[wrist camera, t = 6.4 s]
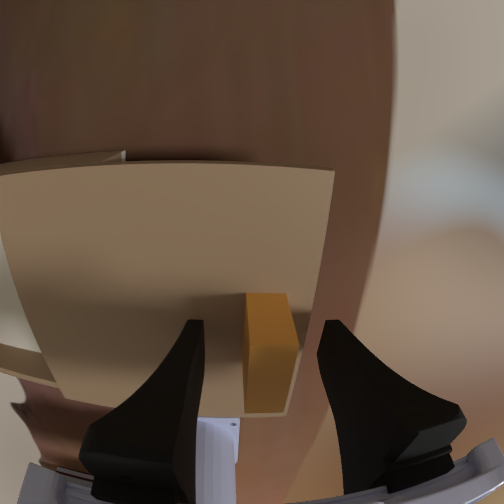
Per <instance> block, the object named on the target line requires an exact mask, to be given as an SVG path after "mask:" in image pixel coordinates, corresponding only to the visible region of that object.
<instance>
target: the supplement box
mask: <svg viewBox="0 0 504 504" xmlns="http://www.w3.org/2000/svg"><path fill="white" fill-rule="evenodd" d="M56 472H57V473H59V474H60V475H62V476H63V477H64V478H65V480H66V481H69V482H72V483H75V484H79V485H82V486H86V487H90V488H92V484H93V479H94V476H93V475H89V474H84V473H80V472H76V471H72V470H69V469H65V468H62V467H57V469H56Z"/></svg>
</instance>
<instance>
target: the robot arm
mask: <svg viewBox="0 0 504 504" xmlns="http://www.w3.org/2000/svg"><path fill="white" fill-rule="evenodd" d="M317 358H318V364H319V370H320V374H321V378H322V381H323V384H324V387H325V390H326V393H327V397H328V400H329V403H330V406H331V409H332V412H333V415H334V420H335V424H336V429H337V435H338V441H339V447H340V455H341V463H342V473H343V488H344V495H342V496H337V497H332V498H326V499H319V500H313V501H305V502H296V503H287V504H474V503H476V502H478V501H479V500H481V499H483V498H484V497H485V496H487V495H489V494H490V493H491V492H493V491H494V490H496V489H497V488H499V487H500V486H501V485H502V484H504V456H503V454H502V452H501V450H500V448H499V446H498V444H497V442H496V440H495V438H491V439H489V440H488V441H485V442H484V443H481V444H479V445H478V446H476V447H475V448H473V449H472V450H471V451H470V452H469V453H468V454H467V456H465V457H463V458H460V459H458V460H456V461H453V460H452V458H451V456H450V454H449V453H451V452H452V447H451V445H450V443H451V442H452V441H453V440H454V439H455V438H456V437H457V436H458V435H459V434H460V433H461V432H462V430H463V429H464V428H465V426H466V423H467V420H466V418H465V416H464V414H463V412H462V410H461V409H460V407H459V405H458V404H455V403H452V402H450V401H447V400H444V399H442V398H439V397H437V396H435V395H432V394H431V393H428V392H426V391H425V390H422V389H421V388H419V387H417V386H415V385H414V384H412V383H410V382H409V381H407V380H405V379H404V378H403V377H401V376H400V375H398V374H397V373H396V372H394V371H393V370H392V369H390V368H389V367H387V366H386V365H385V364H384V363H383V362H382V361H381V360H379V359H378V358H377V357H375V355H374V354H373V353H371V352H370V351H369V350H368V349H367V348H366V347H365V346H364V345H363V344H362V343H361V342H360V341H359V340H358V339H357V338H356V337H355V336H354V335H353V334H352V333H351V332H350V331H349V330H348V328H347V327H346V326H345V325H344V324H343V323H342V322H341V321H340V320H326V321H325V325H324V329H323V332H322V336H321V340H320V344H319V347H318V351H317ZM204 371H205V340H204V320H196V319H189V320H187V321H186V323H185V326H184V328H183V330H182V331H181V333H180V335H179V337H178V338H177V340H176V342H175V343H174V345H173V346H172V348H171V350H170V351H169V353H168V354H167V356H166V357H165V358H164V360H163V361H162V362H161V364H160V365H159V366H158V368H157V369H156V370H155V371H154V372H153V374H152V375H151V376H150V377H149V378H148V379H147V380H146V381H145V382H144V383H143V384H142V385H141V386H140V387H139V388H138V389H137V390H136V391H135V392H134V393H133V394H132V395H131V396H130V397H129V398H128V399H126V400H125V401H124V402H123V403H121V404H120V405H119V406H118V407H116V408H115V409H114V410H112V411H111V412H110V413H108V414H107V415H105V416H103V417H102V418H100V419H99V420H97V421H95V422H94V423H92V424H90V426H89V428H88V430H87V432H86V434H85V437H84V439H83V442H82V446H81V449H80V453H79V460H80V461H81V463H82V464H83V465H84V467H85V468H86V469H87V470H88V471H89V472H90V473H91V474H92V475H93V476H94V479H93V484H92V488H90V487H86V486H82V485H79V484H75V483H72V482H69V481H66V480H65V478H64V477H63V476H62V475H60V474H59V473H57V472H55V471H53V470H50V469H47V468H44V467H42V466H39V465H36V464H34V463H29V465H28V468H27V471H26V474H25V478H24V481H23V484H22V487H21V491H20V494H19V498H18V502H17V504H236V485H235V463H237V458H238V442H239V426H240V417H202V416H198V412H199V406H200V400H201V393H202V387H203V380H204Z"/></svg>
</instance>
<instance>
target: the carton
mask: <svg viewBox="0 0 504 504" xmlns="http://www.w3.org/2000/svg"><path fill="white" fill-rule="evenodd" d="M124 161H126V150H118V151H102V152H89V153H78V154H68V155H58V156H50V157H42V158H34V159H27V160H20V161H14V162H8V163H2V164H0V173H5V172H12V171H19V170H27V169H35V168H44V167H54V166H64V165H76V164H89V163H105V162H124ZM0 372H2V373H5V374H8V375H12V376H15V377H18V378H22V379H25V380H29V381H32V382H36V383H40V384H44V385H48V386H52V387H56V388H59V386H58V384H57V382H56V380H55V379H54V377H53V375H52V373H51V371H50V369H49V367H48V365H47V363H46V361H45V359H44V357H43V355H42V352H41V350H40V348H39V346H38V344H37V342H36V339H35V337H34V335H33V332H32V330H31V328H30V325H29V323H28V320H27V318H26V315H25V313H24V310H23V307H22V305H21V302H20V299H19V296H18V293H17V290H16V288H15V285H14V281H13V278H12V275H11V272H10V269H9V265H8V262H7V258H6V255H5V251H4V247H3V243H2V239H1V235H0Z"/></svg>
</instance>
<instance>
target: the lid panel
mask: <svg viewBox="0 0 504 504" xmlns="http://www.w3.org/2000/svg"><path fill="white" fill-rule="evenodd" d="M334 175H335V171H334V170H332V169H331V168H327V167H317V166H306V165H293V164H279V163H263V162H242V161H208V160H158V161H124V162H105V163H89V164H76V165H64V166H54V167H44V168H35V169H27V170H19V171H12V172H5V173H0V235H1V239H2V243H3V247H4V251H5V255H6V258H7V262H8V265H9V269H10V272H11V275H12V278H13V281H14V285H15V288H16V290H17V293H18V296H19V299H20V302H21V305H22V307H23V310H24V313H25V315H26V318H27V320H28V323H29V325H30V328H31V330H32V332H33V335H34V337H35V339H36V342H37V344H38V346H39V348H40V350H41V352H42V355H43V357H44V359H45V361H46V363H47V365H48V367H49V369H50V371H51V373H52V375H53V377H54V379H55V380H56V382H57V384H58V386H59V388H60V390H61V391H62V393H63V395H64V397H65V398H67V399H71V400H76V401H81V402H86V403H91V404H96V405H102V406H107V407H114V408H116V407H118V406H119V405H120V404H121V403H123V402H124V401H125V400H126V399H128V398H129V397H130V396H131V395H132V394H133V393H134V392H135V391H136V390H137V389H138V388H139V387H140V386H141V385H142V384H143V383H144V382H145V381H146V380H147V379H148V378H149V377H150V376H151V375H152V374H153V372H154V371H155V370H156V369H157V368H158V366H159V365H160V364H161V362H162V361H163V360H164V358H165V357H166V356H167V354H168V353H169V351H170V350H171V348H172V346H173V345H174V343H175V342H176V340H177V338H178V337H179V335H180V333H181V331H182V330H183V328H184V326H185V323H186V321H187V320H189V319H196V320H204V340H205V371H204V380H203V387H202V393H201V400H200V406H199V412H198V416H202V417H277V416H286V414H287V411H288V407H289V403H290V399H291V396H292V392H293V388H294V384H295V380H296V376H297V372H298V368H299V364H300V359H301V355H302V351H303V347H304V342H305V338H306V333H307V329H308V324H309V319H310V315H311V310H312V305H313V300H314V295H315V290H316V285H317V280H318V275H319V269H320V264H321V258H322V253H323V247H324V241H325V235H326V229H327V223H328V216H329V210H330V203H331V196H332V189H333V182H334Z"/></svg>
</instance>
